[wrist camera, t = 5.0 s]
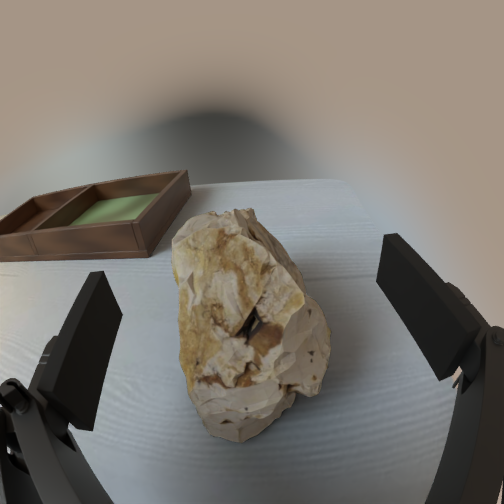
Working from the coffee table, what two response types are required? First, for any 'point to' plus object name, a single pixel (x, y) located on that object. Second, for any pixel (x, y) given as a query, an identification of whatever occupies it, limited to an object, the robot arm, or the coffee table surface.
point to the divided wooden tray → (95, 220)
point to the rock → (244, 324)
